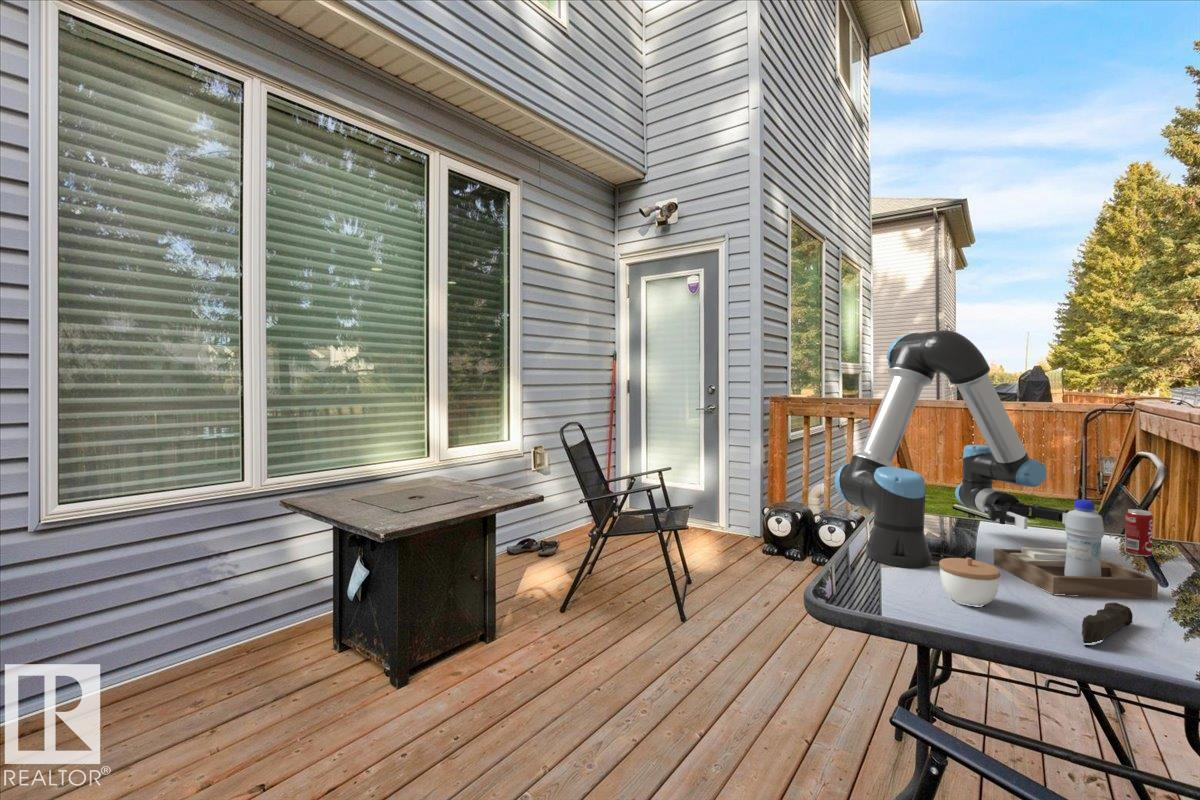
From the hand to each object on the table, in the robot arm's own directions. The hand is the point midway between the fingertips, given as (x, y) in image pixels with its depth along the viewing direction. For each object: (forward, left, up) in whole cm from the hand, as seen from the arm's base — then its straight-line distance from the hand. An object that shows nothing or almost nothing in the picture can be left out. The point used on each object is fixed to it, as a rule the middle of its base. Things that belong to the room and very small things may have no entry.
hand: (1055, 524), depth 132 cm
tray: (-2, -4, -12) cm, 13 cm away
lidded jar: (-37, -5, -12) cm, 39 cm away
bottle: (-4, -8, -12) cm, 15 cm away
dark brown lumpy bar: (-28, -24, -12) cm, 39 cm away
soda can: (+37, +1, -12) cm, 39 cm away
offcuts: (0, 0, -11) cm, 11 cm away
